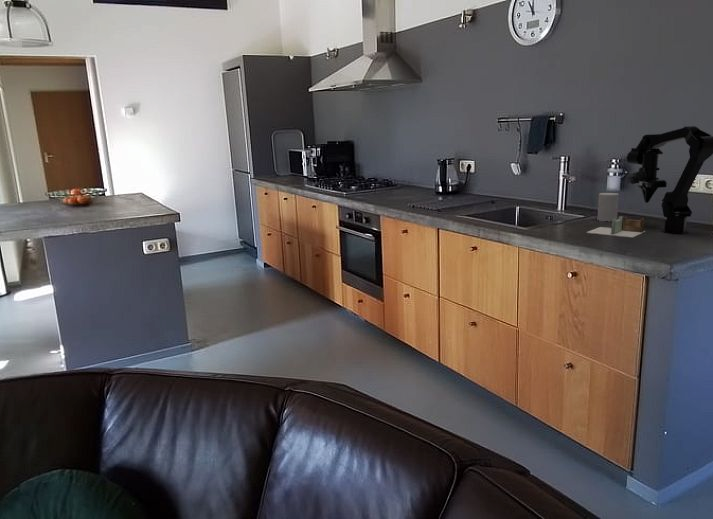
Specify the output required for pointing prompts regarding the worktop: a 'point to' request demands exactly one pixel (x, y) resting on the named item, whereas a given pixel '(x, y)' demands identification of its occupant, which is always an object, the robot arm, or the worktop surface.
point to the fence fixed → (633, 225)
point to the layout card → (621, 233)
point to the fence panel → (616, 225)
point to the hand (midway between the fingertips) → (646, 202)
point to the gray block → (607, 206)
